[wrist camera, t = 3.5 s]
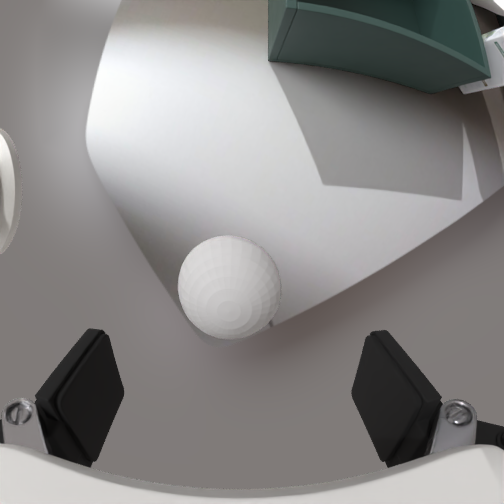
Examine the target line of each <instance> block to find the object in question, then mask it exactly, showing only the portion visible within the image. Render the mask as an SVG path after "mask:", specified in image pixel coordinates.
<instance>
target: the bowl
mask: <svg viewBox="0 0 504 504" xmlns="http://www.w3.org/2000/svg"><path fill="white" fill-rule="evenodd" d="M470 1H471V3H472V4H474V5H477V6H480V7H483V8H485V9H487V10H489V11H491V12H493V13H496V14H498V15H501V16H504V0H470Z"/></svg>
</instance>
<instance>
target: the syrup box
mask: <svg viewBox="0 0 504 504" xmlns="http://www.w3.org/2000/svg"><path fill="white" fill-rule="evenodd" d="M482 38H483V42H484V46H485V50H486V54H487V58H488V63H489V68H490V73H491V78H490V79H485V80H481V81H477V82H473V83H469V84H465V85H461V86H458V87H459V88H460V90H461V91H462V93H463V94H468V93H473V92H478V91H482V90H487V89H492V88H496V87H501V86H504V26H503V27H501V28H498V29H495V30H493V31H491V32H488V33H485V34H483V35H482Z"/></svg>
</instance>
